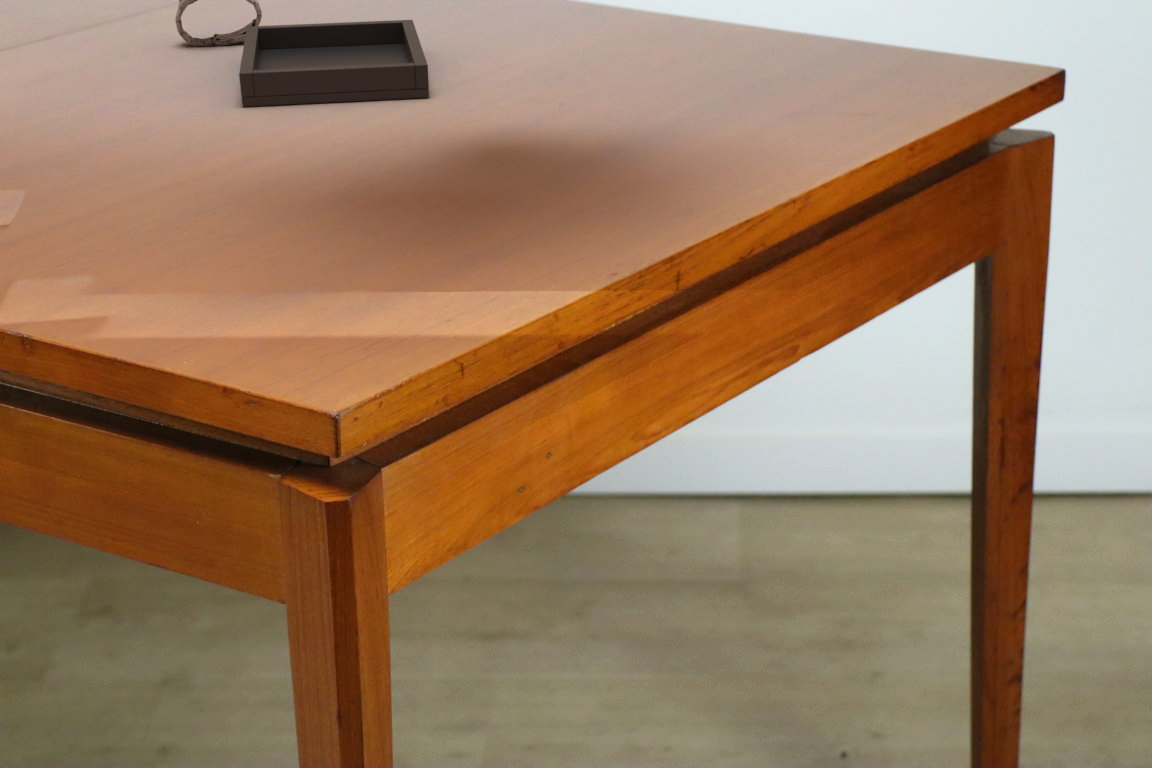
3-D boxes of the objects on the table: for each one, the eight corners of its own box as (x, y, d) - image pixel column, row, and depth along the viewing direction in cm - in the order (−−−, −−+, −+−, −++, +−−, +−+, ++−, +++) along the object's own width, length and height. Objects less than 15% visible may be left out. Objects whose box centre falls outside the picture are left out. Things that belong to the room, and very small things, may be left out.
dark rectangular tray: (242, 107, 94) (238, 73, 93) (250, 56, 107) (247, 26, 106) (429, 97, 96) (427, 64, 95) (414, 48, 109) (412, 19, 108)
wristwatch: (179, 40, 112) (171, -29, 110) (264, 36, 113) (258, -32, 111) (176, 50, 109) (167, -20, 107) (263, 46, 110) (257, -24, 108)
